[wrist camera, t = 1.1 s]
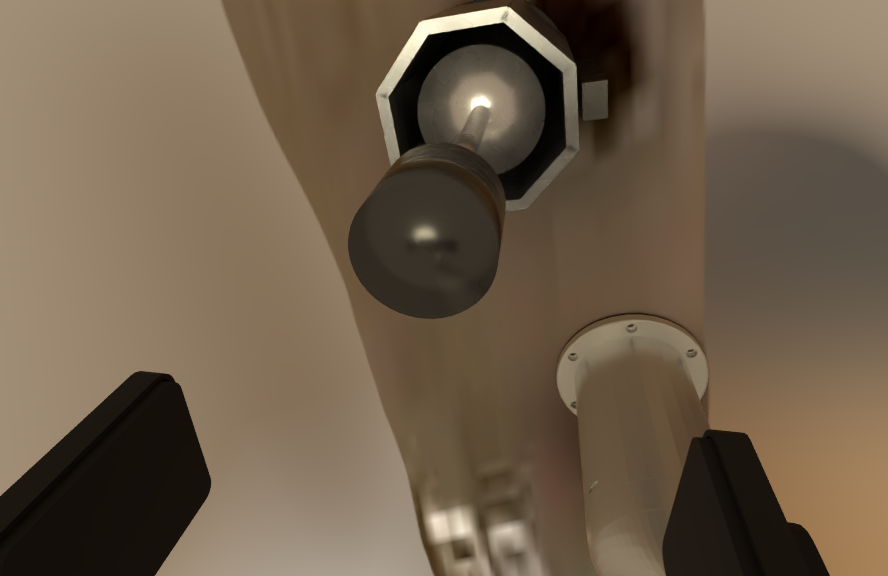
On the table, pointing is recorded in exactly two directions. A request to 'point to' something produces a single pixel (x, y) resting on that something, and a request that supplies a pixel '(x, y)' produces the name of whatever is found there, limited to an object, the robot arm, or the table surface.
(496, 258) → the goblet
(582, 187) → the table surface
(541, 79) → the grey octagonal cup
